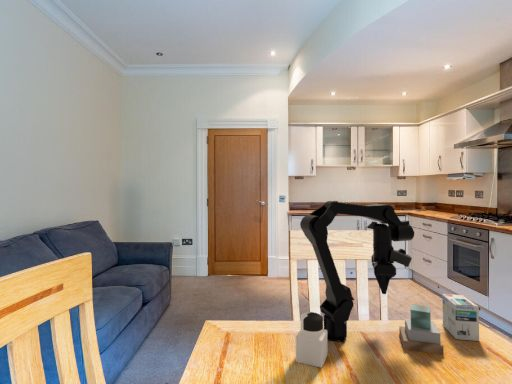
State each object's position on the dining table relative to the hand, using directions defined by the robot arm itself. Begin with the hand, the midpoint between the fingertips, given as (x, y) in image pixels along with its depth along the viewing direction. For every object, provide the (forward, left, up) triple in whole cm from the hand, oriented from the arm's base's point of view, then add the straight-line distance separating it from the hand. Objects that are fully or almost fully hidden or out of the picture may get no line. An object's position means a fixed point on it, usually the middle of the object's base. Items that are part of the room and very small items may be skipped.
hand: (382, 289), depth 102 cm
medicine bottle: (-20, -25, -13) cm, 35 cm away
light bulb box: (+23, +4, -13) cm, 27 cm away
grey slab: (+10, -7, -11) cm, 16 cm away
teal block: (+10, -7, -8) cm, 14 cm away
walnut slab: (+10, -7, -14) cm, 18 cm away
